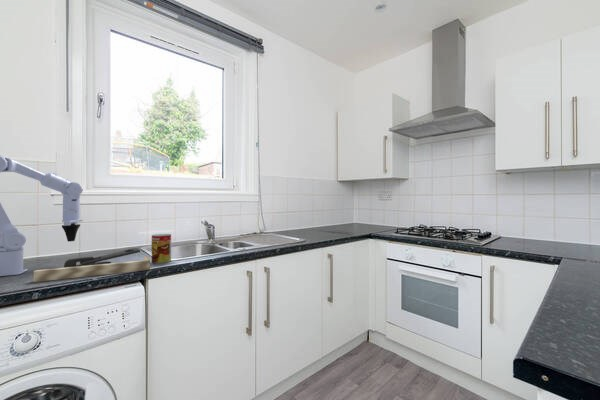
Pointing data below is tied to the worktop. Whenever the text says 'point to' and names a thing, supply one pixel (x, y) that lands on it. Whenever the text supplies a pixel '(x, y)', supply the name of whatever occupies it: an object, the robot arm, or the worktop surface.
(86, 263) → the dark grey elongated piece
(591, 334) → the worktop surface
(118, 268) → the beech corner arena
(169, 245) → the canned food
